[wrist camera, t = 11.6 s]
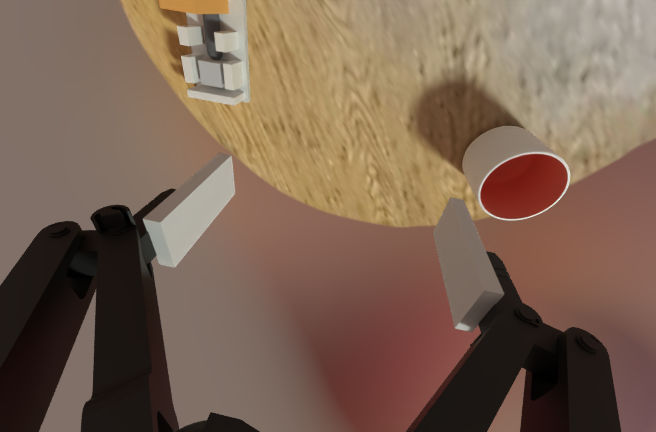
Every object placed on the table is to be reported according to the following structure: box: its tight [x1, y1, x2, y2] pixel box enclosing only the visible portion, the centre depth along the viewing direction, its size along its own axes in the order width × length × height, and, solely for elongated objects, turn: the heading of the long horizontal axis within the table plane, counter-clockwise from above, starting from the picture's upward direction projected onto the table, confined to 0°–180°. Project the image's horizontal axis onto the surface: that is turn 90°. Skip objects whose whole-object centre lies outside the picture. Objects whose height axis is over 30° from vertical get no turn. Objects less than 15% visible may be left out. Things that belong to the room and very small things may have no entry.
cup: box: [462, 126, 570, 220], centre depth 38 cm, size 10×10×10 cm
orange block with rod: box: [159, 0, 229, 88], centre depth 32 cm, size 19×4×8 cm, turn 172°
